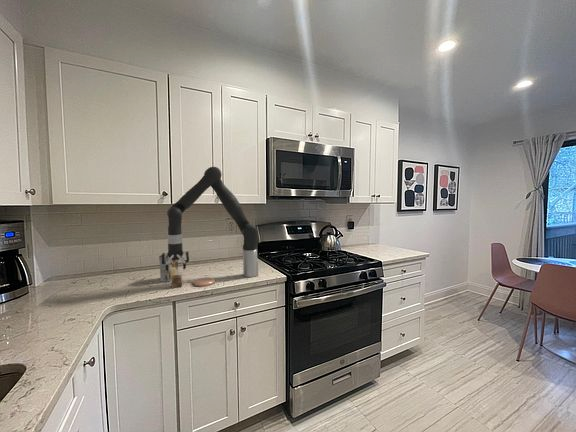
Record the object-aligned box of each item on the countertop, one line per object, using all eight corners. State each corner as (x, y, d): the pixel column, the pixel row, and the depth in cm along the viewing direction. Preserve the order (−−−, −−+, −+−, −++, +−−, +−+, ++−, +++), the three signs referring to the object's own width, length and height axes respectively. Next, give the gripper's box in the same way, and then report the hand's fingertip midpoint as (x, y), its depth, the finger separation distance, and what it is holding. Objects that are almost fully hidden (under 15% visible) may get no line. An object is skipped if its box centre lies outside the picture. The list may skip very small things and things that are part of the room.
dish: (213, 278, 160) (213, 276, 160) (215, 285, 149) (215, 282, 149) (193, 281, 156) (193, 278, 156) (193, 287, 145) (193, 285, 145)
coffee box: (170, 276, 165) (168, 252, 163) (178, 277, 163) (177, 252, 162) (160, 281, 156) (159, 255, 154) (169, 282, 154) (168, 256, 153)
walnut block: (181, 284, 150) (181, 274, 150) (181, 287, 146) (181, 277, 145) (172, 285, 149) (172, 275, 148) (171, 288, 144) (171, 278, 144)
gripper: (188, 240, 151) (189, 267, 152) (162, 241, 146) (162, 269, 147) (188, 242, 144) (189, 270, 145) (160, 244, 139) (161, 273, 140)
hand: (175, 270), depth 146 cm, fingers open, 8 cm apart
